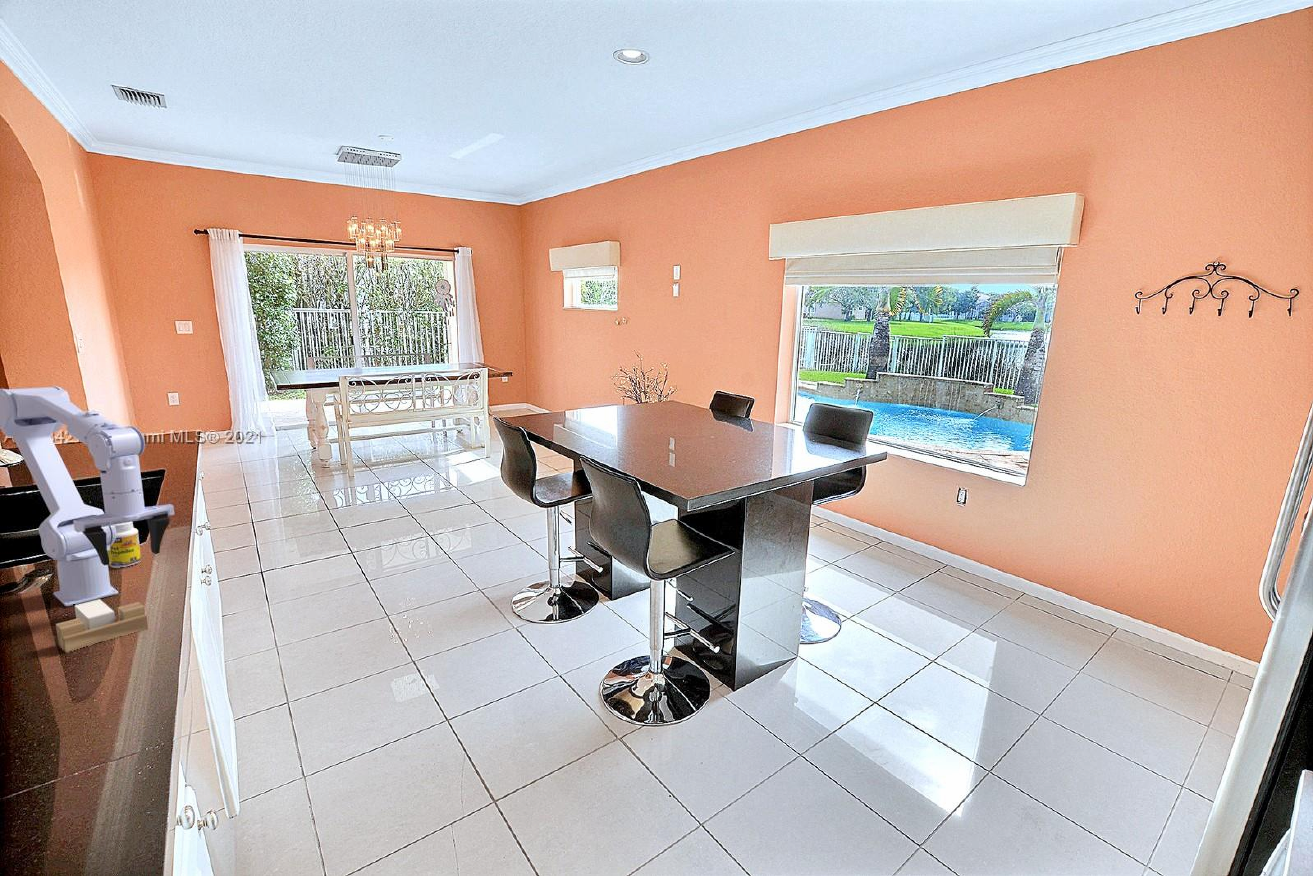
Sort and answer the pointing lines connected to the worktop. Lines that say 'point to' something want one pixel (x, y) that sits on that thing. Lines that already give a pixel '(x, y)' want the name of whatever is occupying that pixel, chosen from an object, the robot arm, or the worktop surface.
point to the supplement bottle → (124, 546)
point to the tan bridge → (101, 628)
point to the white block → (95, 614)
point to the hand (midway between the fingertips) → (131, 558)
